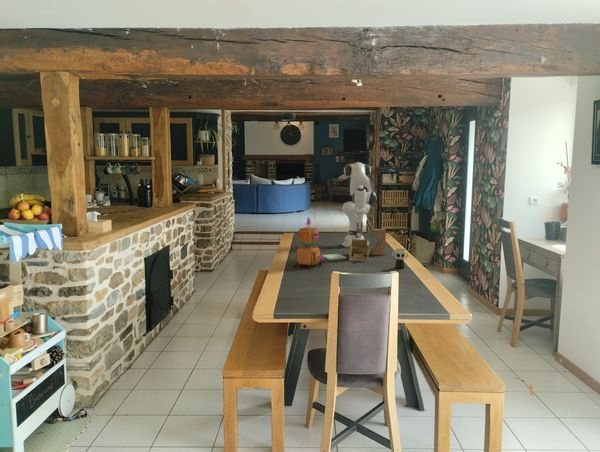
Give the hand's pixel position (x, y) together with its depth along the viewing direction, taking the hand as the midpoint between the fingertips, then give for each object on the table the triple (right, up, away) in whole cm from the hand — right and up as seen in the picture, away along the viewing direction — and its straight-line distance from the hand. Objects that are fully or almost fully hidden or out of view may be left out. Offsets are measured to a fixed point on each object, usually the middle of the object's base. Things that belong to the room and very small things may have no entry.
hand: (359, 228), depth 374 cm
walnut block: (0, -4, 0) cm, 4 cm away
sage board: (-19, -23, +2) cm, 30 cm away
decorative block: (+16, -21, +16) cm, 31 cm away
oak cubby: (0, -23, +3) cm, 23 cm away
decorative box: (-37, -27, -30) cm, 54 cm away
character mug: (+24, -28, -33) cm, 49 cm away
